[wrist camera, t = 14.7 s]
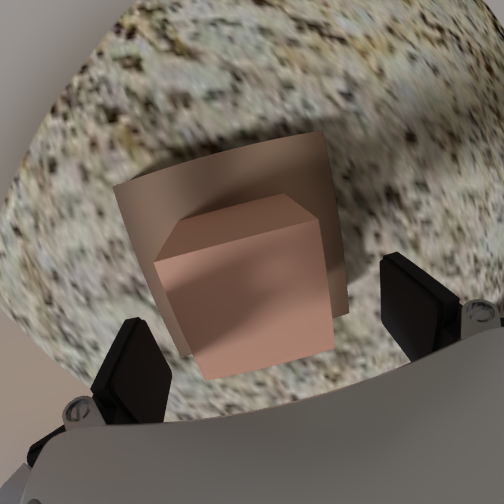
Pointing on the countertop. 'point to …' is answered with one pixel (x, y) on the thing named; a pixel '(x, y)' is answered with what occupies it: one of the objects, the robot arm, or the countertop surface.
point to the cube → (248, 286)
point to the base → (233, 204)
